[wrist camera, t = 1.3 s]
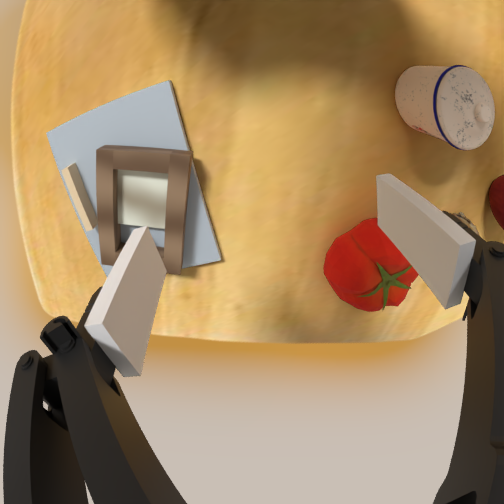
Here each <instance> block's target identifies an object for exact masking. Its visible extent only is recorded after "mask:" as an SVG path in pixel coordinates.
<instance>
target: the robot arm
mask: <svg viewBox="0 0 504 504" xmlns="http://www.w3.org/2000/svg"><path fill="white" fill-rule="evenodd" d="M376 181H377V211H378V226H379V227H380V228H381V230H382V231H383V232H384V233H385V234H386V235H387V236H388V238H389V239H390V240H391V241H392V242H393V243H394V245H395V246H396V247H397V248H398V249H399V250H400V252H401V253H402V254H403V255H404V257H405V258H406V259H407V260H408V261H409V263H410V264H411V265H412V266H413V268H414V269H415V270H416V271H417V273H418V274H419V275H420V276H421V278H422V279H423V280H424V282H425V283H426V284H427V285H428V287H429V288H430V289H431V291H432V292H433V293H434V295H435V296H436V297H437V299H438V300H439V302H440V303H441V304H442V306H443V307H444V308H445V309H448V308H450V307H453V306H455V305H458V304H460V303H461V300H462V297H463V293H464V291H465V292H466V293H467V295H468V296H469V300H468V303H467V306H466V310H465V312H464V315H463V321H464V320H465V318H466V316H467V320H468V321H467V323H468V324H467V358H466V372H465V384H464V393H463V401H462V408H461V415H460V421H459V427H458V432H457V437H456V442H455V447H454V451H453V455H452V459H451V463H450V467H449V471H448V474H447V476H446V479H445V480H444V482H443V484H442V485H441V487H440V489H439V490H438V493H437V495H436V497H435V500H434V502H433V504H504V244H502V243H499V242H496V241H490V242H486V241H485V240H483V239H482V238H481V237H480V236H479V235H478V234H476V233H475V232H474V231H473V230H472V229H471V228H468V226H467V225H466V224H465V223H462V221H461V220H460V219H458V218H457V217H456V216H455V215H452V214H450V213H448V212H446V211H441V210H439V209H438V208H437V207H435V206H434V205H433V204H432V203H430V202H429V201H428V200H426V199H425V198H424V197H422V196H421V195H420V194H418V193H417V192H416V191H414V190H413V189H411V188H410V187H409V186H407V185H406V184H404V183H403V182H402V181H400V180H399V179H397V178H396V177H394V176H393V175H391V174H390V173H388V174H382V175H376ZM166 272H167V271H166V268H165V266H164V264H163V261H162V259H161V257H160V254H159V252H158V250H157V247H156V245H155V243H154V240H153V238H152V235H151V233H150V231H149V228H148V226H144V227H140V228H137V229H134V230H133V232H132V233H131V235H130V237H129V239H128V240H127V242H126V244H125V246H124V248H123V249H122V251H121V253H120V255H119V257H118V258H117V260H116V262H115V264H114V266H113V268H112V270H111V272H110V273H109V275H108V277H107V279H106V281H105V283H104V285H103V286H102V287H100V288H99V289H98V290H97V291H96V292H95V293H94V294H93V295H92V297H91V299H90V301H89V303H88V306H87V307H86V309H85V312H84V314H83V316H82V318H81V320H80V322H79V324H78V326H77V328H75V327H74V326H73V324H72V323H71V321H70V320H69V319H68V317H66V316H59V317H57V318H54V319H53V320H51V321H50V322H49V323H48V324H47V325H46V326H45V327H44V328H43V330H42V332H41V335H40V339H41V340H42V341H43V342H44V344H45V345H46V346H47V347H48V349H49V350H50V351H51V352H52V353H53V354H52V355H50V356H47V357H45V358H42V357H41V355H40V354H39V353H38V352H37V351H35V350H31V351H28V352H27V353H25V354H24V355H22V356H21V357H20V359H19V361H18V362H17V365H16V368H15V373H14V378H13V383H12V389H11V394H10V400H9V408H8V414H7V422H6V433H5V445H4V464H3V467H4V468H3V489H4V504H88V498H87V493H86V486H85V482H86V484H87V487H88V490H89V492H90V495H91V497H92V500H93V502H94V504H187V503H186V502H185V500H184V499H183V498H182V496H181V495H180V493H179V492H178V490H177V489H176V487H175V486H174V484H173V483H172V481H171V480H170V478H169V476H168V475H167V474H166V472H165V470H164V468H163V467H162V465H161V464H160V462H159V460H158V459H157V457H156V455H155V453H154V452H153V450H152V448H151V446H150V445H149V443H148V441H147V439H146V438H145V436H144V434H143V432H142V430H141V428H140V426H139V424H138V422H137V420H136V419H135V416H134V414H133V412H132V411H131V408H130V406H129V404H128V402H127V400H126V398H125V396H124V393H123V391H122V389H121V387H120V385H119V383H118V381H117V380H116V378H115V377H114V376H113V375H114V372H115V368H116V369H117V370H118V371H119V372H120V373H121V374H122V376H123V377H130V376H141V372H142V367H143V363H144V359H145V354H146V349H147V345H148V341H149V337H150V333H151V329H152V325H153V321H154V317H155V313H156V309H157V305H158V301H159V298H160V294H161V290H162V287H163V283H164V279H165V276H166ZM43 401H44V402H46V403H47V404H48V411H47V410H46V409H45V408H43Z"/></svg>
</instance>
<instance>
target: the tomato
mask: <svg viewBox="0 0 504 504" xmlns="http://www.w3.org/2000/svg"><path fill="white" fill-rule="evenodd" d="M324 274H325V276H326V278H327V280H328V281H329V283H330V285H331V286H332V288H333V289H334V291H335V292H336V294H337V295H338V296H339V297H340V299H342V300H343V301H345V302H347V303H349V304H350V305H352V306H354V307H356V308H358V309H361V310H364V311H368V312H373V311H379V310H381V309H382V308H383V309H384V307H385V306H398V305H399V304H400V303H401V302H402V301H403V300H404V299H405V297H406V295H407V292H408V290H409V289H410V288H411V287H410V285H411V283H412V282H413V281H414V280H415V279H416V278H417V276H418V275H419V274H418V273H417V271H416V270H415V269H414V268H413V266H412V265H411V264H410V263H409V261H408V260H407V259H406V258H405V257H404V255H403V254H402V253H401V252H400V250H399V249H398V248H397V247H396V246H395V245H394V243H393V242H392V241H391V240H390V239H389V238H388V236H387V235H386V234H385V233H384V232H383V231H382V230H381V228H380V227H379V226H378V217H377V218H372V219H367V220H364V221H362V222H361V223H360V224H358V225H357V226H356V227H354V228H353V229H352V230H350V231H349V232H347V233H345V234H343V235H341V236H339V237H337V238H336V239H335V241H334V243H333V244H332V246H331V247H330V249H329V250H328V252H327V254H326V258H325V263H324Z"/></svg>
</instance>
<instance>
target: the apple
mask: <svg viewBox="0 0 504 504" xmlns="http://www.w3.org/2000/svg"><path fill="white" fill-rule="evenodd" d="M489 201H490V207H491V209H492V212H493V215H494V217H495V218H496V220H497V222H498V223H499V225H500V226H501V227H502V228H503V229H504V175H502V176H500V177H498V178H497V179H495V180H494V181H493V183H492V185H491V187H490V191H489Z"/></svg>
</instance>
